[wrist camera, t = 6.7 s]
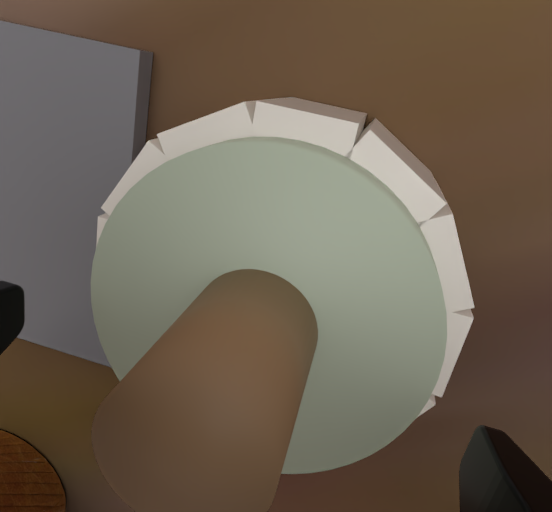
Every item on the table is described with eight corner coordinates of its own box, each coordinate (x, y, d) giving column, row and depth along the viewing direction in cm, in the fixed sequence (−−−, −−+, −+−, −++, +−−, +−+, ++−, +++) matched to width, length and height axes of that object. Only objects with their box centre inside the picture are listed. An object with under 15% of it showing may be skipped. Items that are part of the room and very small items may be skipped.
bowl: (493, 141, 13) (537, 162, 9) (397, 407, 16) (399, 501, 12) (179, 72, 14) (105, 67, 10) (151, 333, 17) (88, 398, 14)
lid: (494, 182, 9) (603, 282, 5) (387, 477, 12) (385, 724, 8) (127, 102, 10) (-90, 114, 6) (110, 390, 13) (-43, 556, 9)
